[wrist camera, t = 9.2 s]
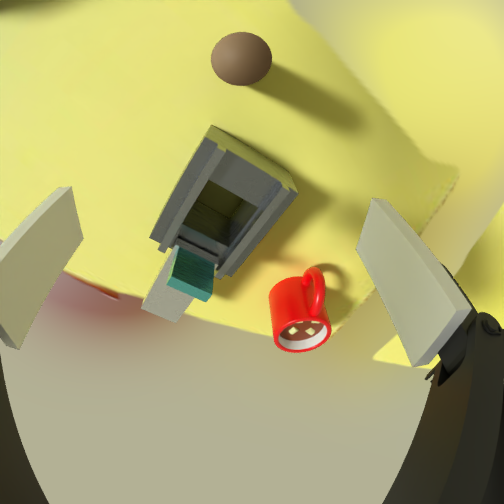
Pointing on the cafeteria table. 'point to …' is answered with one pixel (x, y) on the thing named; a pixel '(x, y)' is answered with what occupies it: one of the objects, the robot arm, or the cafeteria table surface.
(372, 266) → the robot arm
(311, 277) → the mug
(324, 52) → the cafeteria table surface
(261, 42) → the dowel
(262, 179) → the mount
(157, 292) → the grey teal l-shaped bracket
